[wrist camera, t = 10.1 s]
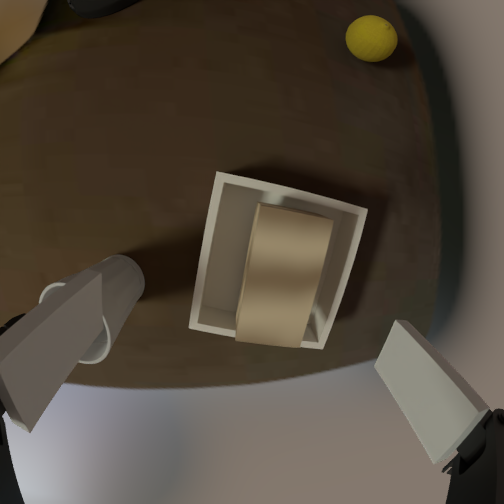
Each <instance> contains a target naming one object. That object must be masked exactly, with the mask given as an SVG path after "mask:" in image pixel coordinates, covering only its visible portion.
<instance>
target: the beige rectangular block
mask: <svg viewBox="0 0 504 504" xmlns="http://www.w3.org/2000/svg"><path fill="white" fill-rule="evenodd" d="M333 222H334V220H332V219H330V218H328V217H325V216H323V215H320V214H318V213H314V212H309V211H304V210H300V209H295V208H290V207H285V206H279V205H274V204H269V203H264V202H258V201H257V205H256V210H255V215H254V221H253V226H252V231H251V237H250V242H249V247H248V253H247V258H246V264H245V269H244V274H243V280H242V285H241V291H240V296H239V302H238V307H237V312H236V336H235V341H242V342H249V343H257V344H265V345H274V346H284V347H294V348H300V345H301V342H302V339H303V335H304V332H305V329H306V326H307V322H308V319H309V316H310V312H311V309H312V305H313V302H314V298H315V295H316V291H317V287H318V284H319V280H320V276H321V272H322V268H323V264H324V260H325V256H326V252H327V248H328V244H329V240H330V235H331V231H332V227H333Z"/></svg>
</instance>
